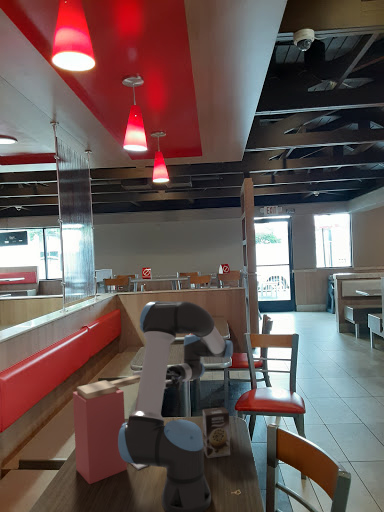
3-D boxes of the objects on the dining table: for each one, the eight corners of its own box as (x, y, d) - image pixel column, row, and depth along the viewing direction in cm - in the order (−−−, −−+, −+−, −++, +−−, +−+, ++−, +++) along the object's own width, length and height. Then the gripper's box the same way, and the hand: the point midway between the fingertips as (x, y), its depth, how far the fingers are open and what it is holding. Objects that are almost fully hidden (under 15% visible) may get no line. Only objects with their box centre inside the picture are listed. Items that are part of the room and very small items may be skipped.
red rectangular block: (112, 456, 152) (108, 383, 151) (126, 469, 142) (123, 391, 142) (76, 469, 143) (72, 392, 143) (89, 484, 134) (85, 401, 133)
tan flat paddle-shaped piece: (134, 378, 156) (133, 373, 156) (145, 383, 149) (145, 378, 149) (77, 392, 142) (76, 387, 142) (86, 399, 135) (86, 393, 135)
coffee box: (207, 458, 147) (205, 415, 147) (203, 450, 153) (201, 408, 153) (231, 455, 149) (229, 412, 149) (226, 447, 155) (224, 406, 155)
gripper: (201, 391, 163) (169, 401, 146) (155, 373, 177) (121, 380, 160) (204, 373, 163) (173, 380, 146) (158, 357, 178) (124, 362, 160)
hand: (146, 380), depth 153 cm, fingers open, 13 cm apart
